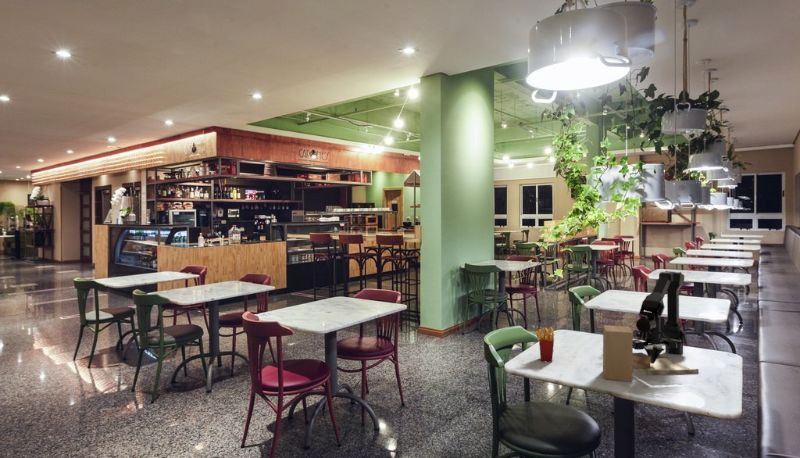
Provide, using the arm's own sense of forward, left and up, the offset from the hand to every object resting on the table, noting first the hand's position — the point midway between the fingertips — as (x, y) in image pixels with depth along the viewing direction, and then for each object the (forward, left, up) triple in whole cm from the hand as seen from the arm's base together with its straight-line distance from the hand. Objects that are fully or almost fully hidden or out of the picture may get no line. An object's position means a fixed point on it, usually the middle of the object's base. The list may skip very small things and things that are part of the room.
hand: (652, 363), depth 198 cm
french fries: (+42, -16, -2) cm, 45 cm away
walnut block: (+6, 0, -1) cm, 6 cm away
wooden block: (+21, +8, -2) cm, 22 cm away
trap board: (-2, 0, -2) cm, 3 cm away
